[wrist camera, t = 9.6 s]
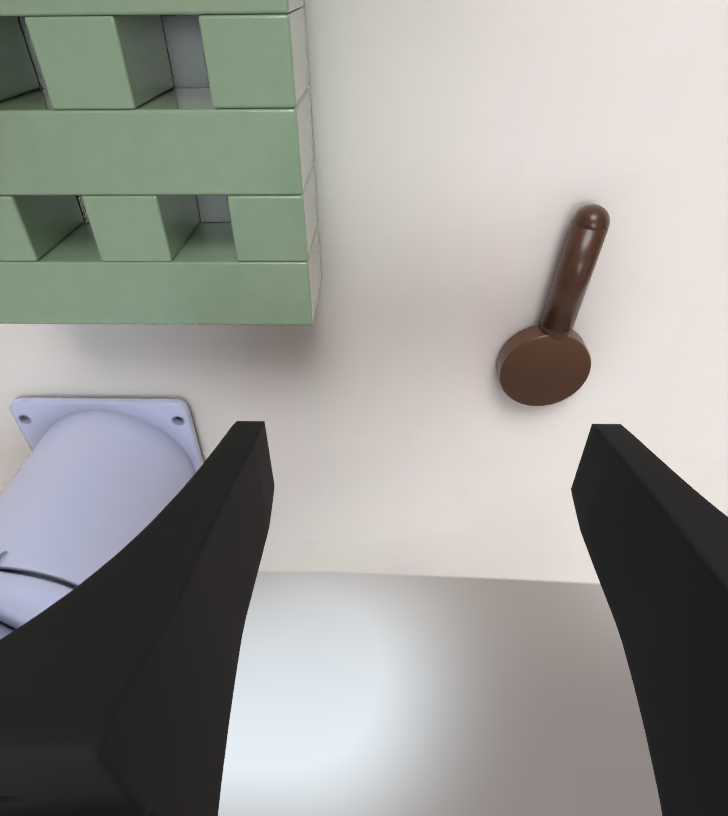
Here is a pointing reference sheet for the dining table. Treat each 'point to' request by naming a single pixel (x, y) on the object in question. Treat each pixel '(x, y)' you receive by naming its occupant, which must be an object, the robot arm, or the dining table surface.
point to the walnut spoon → (557, 323)
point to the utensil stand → (156, 166)
